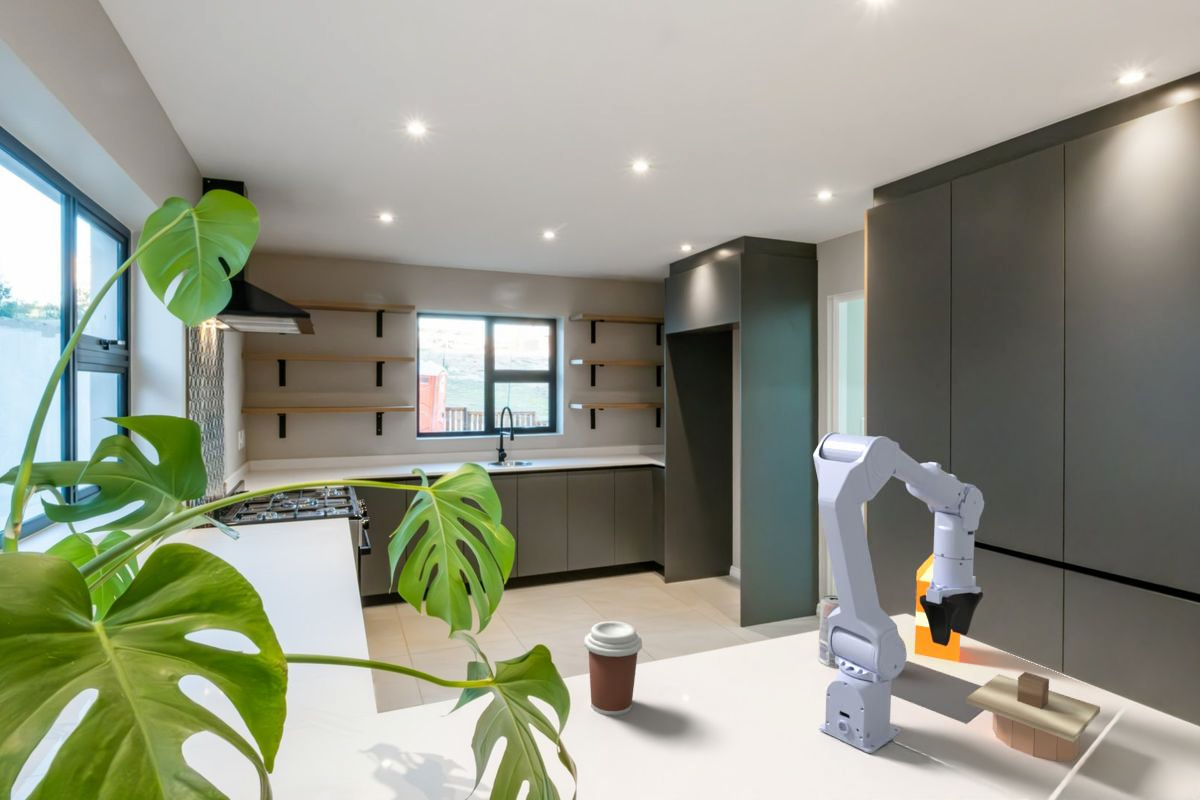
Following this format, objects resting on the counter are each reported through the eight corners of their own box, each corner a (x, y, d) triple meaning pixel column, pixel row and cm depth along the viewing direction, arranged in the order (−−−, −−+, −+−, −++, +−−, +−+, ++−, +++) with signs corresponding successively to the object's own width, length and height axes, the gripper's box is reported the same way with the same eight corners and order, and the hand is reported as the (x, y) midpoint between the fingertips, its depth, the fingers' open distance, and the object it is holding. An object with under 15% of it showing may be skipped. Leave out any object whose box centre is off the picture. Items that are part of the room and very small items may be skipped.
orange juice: (958, 648, 127) (961, 548, 127) (960, 664, 119) (964, 558, 119) (914, 640, 131) (917, 542, 130) (913, 655, 123) (917, 552, 122)
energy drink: (844, 659, 120) (847, 595, 120) (853, 671, 115) (855, 605, 115) (815, 657, 121) (817, 594, 120) (822, 669, 115) (824, 603, 115)
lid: (1073, 742, 84) (1075, 709, 83) (966, 702, 93) (967, 673, 93) (1099, 712, 92) (1101, 682, 92) (998, 679, 102) (999, 652, 102)
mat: (966, 726, 97) (966, 723, 97) (864, 686, 109) (864, 684, 109) (1004, 696, 107) (1004, 693, 107) (907, 662, 119) (907, 660, 119)
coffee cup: (587, 722, 95) (590, 641, 94) (577, 693, 104) (580, 619, 103) (647, 717, 96) (649, 638, 96) (632, 689, 105) (634, 617, 105)
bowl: (1065, 771, 85) (1066, 734, 85) (982, 739, 93) (984, 705, 93) (1086, 746, 92) (1087, 712, 92) (1007, 718, 100) (1008, 686, 99)
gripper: (961, 567, 96) (958, 657, 96) (997, 554, 106) (993, 635, 106) (914, 557, 102) (910, 642, 102) (951, 545, 111) (948, 623, 111)
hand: (950, 638), depth 104 cm, fingers open, 7 cm apart
